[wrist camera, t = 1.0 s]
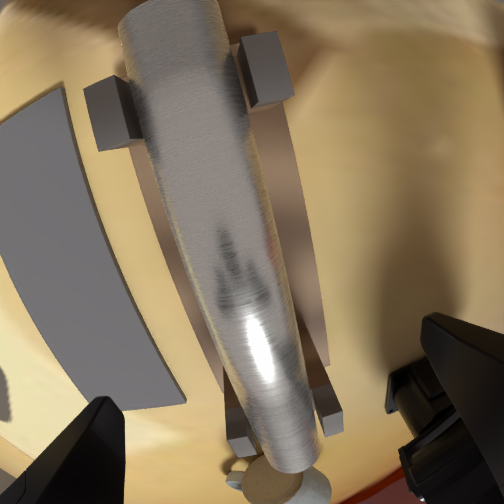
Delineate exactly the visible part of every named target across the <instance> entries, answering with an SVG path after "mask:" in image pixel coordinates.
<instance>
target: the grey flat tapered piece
mask: <svg viewBox="0 0 504 504" xmlns="http://www.w3.org/2000/svg"><path fill="white" fill-rule="evenodd" d="M0 255H1V257H2V259H3V262H4V264H5V266H6V269H7V271H8V273H9V275H10V277H11V280H12V282H13V284H14V286H15V288H16V290H17V292H18V294H19V296H20V298H21V300H22V302H23V304H24V306H25V307H26V309H27V311H28V313H29V315H30V317H31V318H32V320H33V322H34V324H35V325H36V327H37V329H38V330H39V332H40V334H41V335H42V337H43V339H44V340H45V342H46V344H47V345H48V347H49V348H50V350H51V351H52V353H53V355H54V356H55V358H56V359H57V361H58V362H59V363H60V365H61V366H62V368H63V369H64V371H65V372H66V374H67V375H68V376H69V378H70V379H71V380H72V382H73V383H74V384H75V386H76V387H77V388H78V390H79V391H80V392H81V394H82V395H83V396H84V398H85V399H86V400H87V401H88V403H90V402H91V401H92V400H93V399H94V398H95V397H97V396H109V397H111V398H112V400H113V401H114V402H115V404H116V405H117V406H118V408H119V409H120V410H121V411H126V410H137V409H147V408H156V407H164V406H171V405H178V404H185V403H186V401H187V399H186V397H185V395H184V394H183V392H182V390H181V389H180V387H179V385H178V384H177V382H176V380H175V378H174V377H173V375H172V373H171V371H170V370H169V368H168V366H167V364H166V362H165V361H164V359H163V357H162V355H161V353H160V351H159V349H158V348H157V346H156V344H155V342H154V340H153V338H152V336H151V334H150V332H149V330H148V328H147V326H146V324H145V322H144V320H143V318H142V316H141V314H140V312H139V310H138V308H137V306H136V303H135V301H134V299H133V297H132V295H131V293H130V290H129V288H128V286H127V284H126V281H125V279H124V277H123V275H122V272H121V270H120V267H119V265H118V263H117V260H116V258H115V255H114V253H113V250H112V248H111V245H110V243H109V240H108V238H107V235H106V232H105V230H104V227H103V224H102V222H101V219H100V216H99V213H98V210H97V208H96V205H95V202H94V199H93V196H92V193H91V190H90V186H89V183H88V180H87V177H86V174H85V170H84V167H83V164H82V160H81V157H80V153H79V149H78V146H77V142H76V138H75V134H74V130H73V126H72V122H71V118H70V113H69V109H68V104H67V99H66V94H65V89H64V88H62V87H60V88H58V89H56V90H54V91H52V92H51V93H49V94H47V95H46V96H44V97H42V98H40V99H39V100H37V101H36V102H34V103H32V104H31V105H29V106H28V107H26V108H24V109H23V110H21V111H20V112H18V113H17V114H15V115H14V116H12V117H11V118H10V119H8V120H7V121H5V122H4V123H2V124H1V125H0Z"/></svg>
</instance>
